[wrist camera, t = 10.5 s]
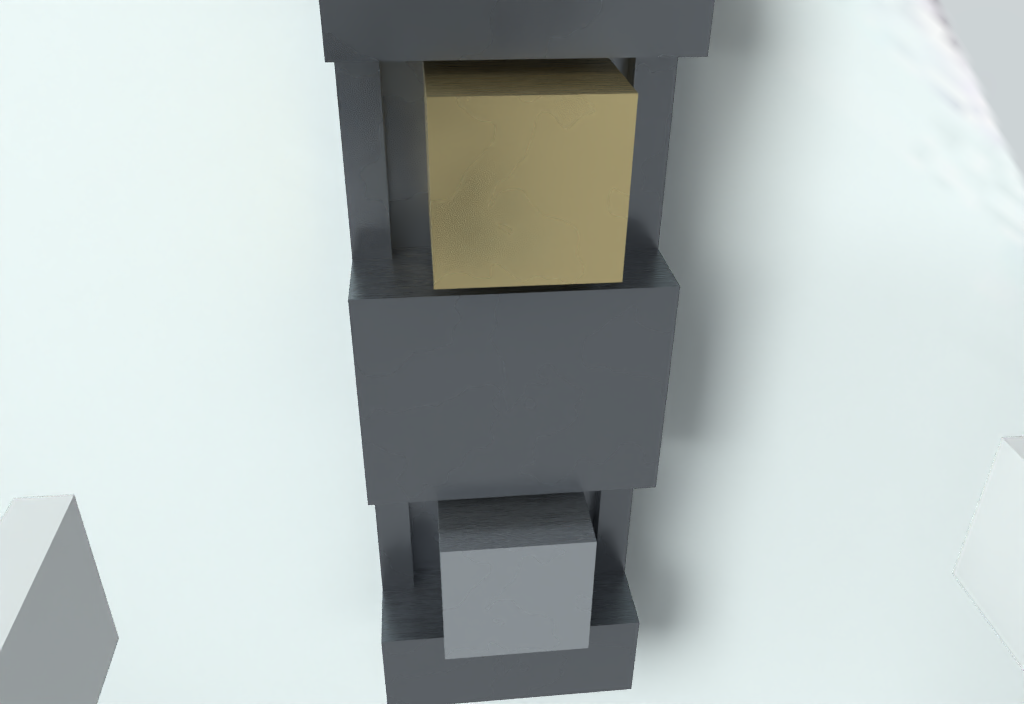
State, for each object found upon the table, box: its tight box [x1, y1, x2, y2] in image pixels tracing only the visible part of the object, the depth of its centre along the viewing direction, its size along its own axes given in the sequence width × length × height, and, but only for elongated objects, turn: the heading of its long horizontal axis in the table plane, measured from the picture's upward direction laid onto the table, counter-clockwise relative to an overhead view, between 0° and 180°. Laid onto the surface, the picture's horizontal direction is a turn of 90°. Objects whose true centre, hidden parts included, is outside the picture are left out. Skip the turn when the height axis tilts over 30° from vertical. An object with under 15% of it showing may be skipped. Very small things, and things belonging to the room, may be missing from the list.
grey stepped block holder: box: [319, 0, 714, 704], centre depth 29 cm, size 28×10×4 cm, turn 0°
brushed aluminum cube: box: [437, 492, 597, 659], centre depth 32 cm, size 5×5×5 cm
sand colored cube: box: [423, 58, 638, 289], centre depth 24 cm, size 5×5×5 cm
